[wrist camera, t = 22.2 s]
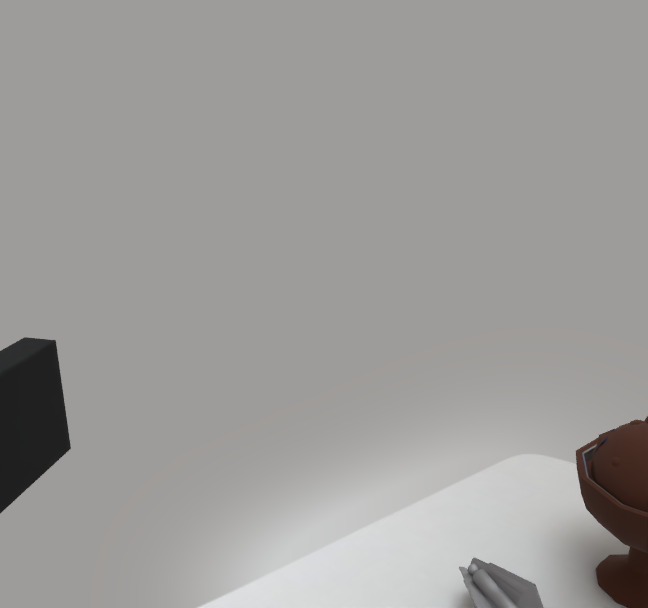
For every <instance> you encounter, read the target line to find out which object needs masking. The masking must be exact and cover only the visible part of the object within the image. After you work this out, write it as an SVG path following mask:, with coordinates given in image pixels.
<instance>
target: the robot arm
mask: <svg viewBox="0 0 648 608" xmlns="http://www.w3.org/2000/svg"><path fill="white" fill-rule="evenodd" d="M70 448H71V447H70V440H69V433H68V426H67V418H66V411H65V404H64V397H63V390H62V383H61V376H60V369H59V361H58V355H57V347H56V341H55V340H45V339H35V338H23V339H21V340H19V341H18V342H16V343H14V344H12V345H10V346H9V347H7V348H5V349H3V350H2V351H0V513H1V512H2V511H3V510H4V509H5V508H6V507H8V506H9V505H10V504H11V503H12V502H13V501H14V500H15V499H16V498H17V497H18V496H19V495H21V494H22V493H23V492H24V491H25V490H26V489H27V488H28V487H29V486H30V485H31V484H33V483H34V482H35V481H36V480H37V479H38V478H39V477H40V476H41V475H42V474H44V473H45V472H46V471H47V470H48V469H49V468H50V467H51V466H52V465H53V464H54V463H55V462H56V461H58V460H59V458H61V457H62V456H63V455H64V454H65V453H66V452H67V451H68V450H69V449H70Z"/></svg>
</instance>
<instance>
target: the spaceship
mask: <svg viewBox="0 0 648 608" xmlns="http://www.w3.org/2000/svg"><path fill="white" fill-rule="evenodd" d="M459 569H460V571H461V573H462V575H463V577H464V579H465V580H464V583H465V585H466V587H467V589H468V591H469V593H470V595H471V597H472V599H473V601H474V603H475V608H543V605H542V602H541V599H540V596H539V593H538V591H537V588H536V585H535V584H533V583H531V582H529V581H527V580H525V579H523V578H521V577H519V576H517V575H515V574H513V573H511V572H509V571H507V570H505V569H503V568H501V567H498V566H496V565H494V564H492V563H489V564H487V563H485V562H483V561H481V560H479V559H477V558H473V559H472V561H471V565H470V566H469V567H468V570H467V569H466V568H464V567H459Z"/></svg>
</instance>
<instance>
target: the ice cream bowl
mask: <svg viewBox="0 0 648 608" xmlns="http://www.w3.org/2000/svg"><path fill="white" fill-rule="evenodd" d="M576 460H577V471H578V477H579V483H580V489H581V494H582V497H583V500H584V503H585V506H586V509H587V510H588V511H589V512H590V513H591V514H592V515H593V517H594V518H595V519H596V520H597V521H598V522H599V523H600V524H601V525H602V526H604V527H605V528H606V529H607V530H608V531H609V532H611V533H612V534H613V535H614V536H615V537H616V538H618V539H619V540H620V541H621V542H622V543H624V544H625V545H627V546H630V550H629V554H628V555H609V556H608V557H607V558H606V559H605V560H603V561H602V562H601V563H600V564H599V565H598V566H597V568H596V572H597V578H598V583H599V586H600V587H601V588H602V589H603V590H605V591H606V592H607V593H608V594H609V595H610V596H611V597H612V598H613V599H614V600H615V601H616V602H617V603H619V604H622V605H624V606H627V607H629V608H648V417H647V418H646V419H645V421H641V420H634V421H631V422H630V423H628V424H625V425H622V426H619V427H618V428H616V429H613V430H610V431H608V432H606V433H603V434H601V435H599V437H598V438H597V439H595V440H594V441H592V442H590V443H588V444H587V445H585V446H583V447H582V448H580V449H578V450H577V451H576Z"/></svg>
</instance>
